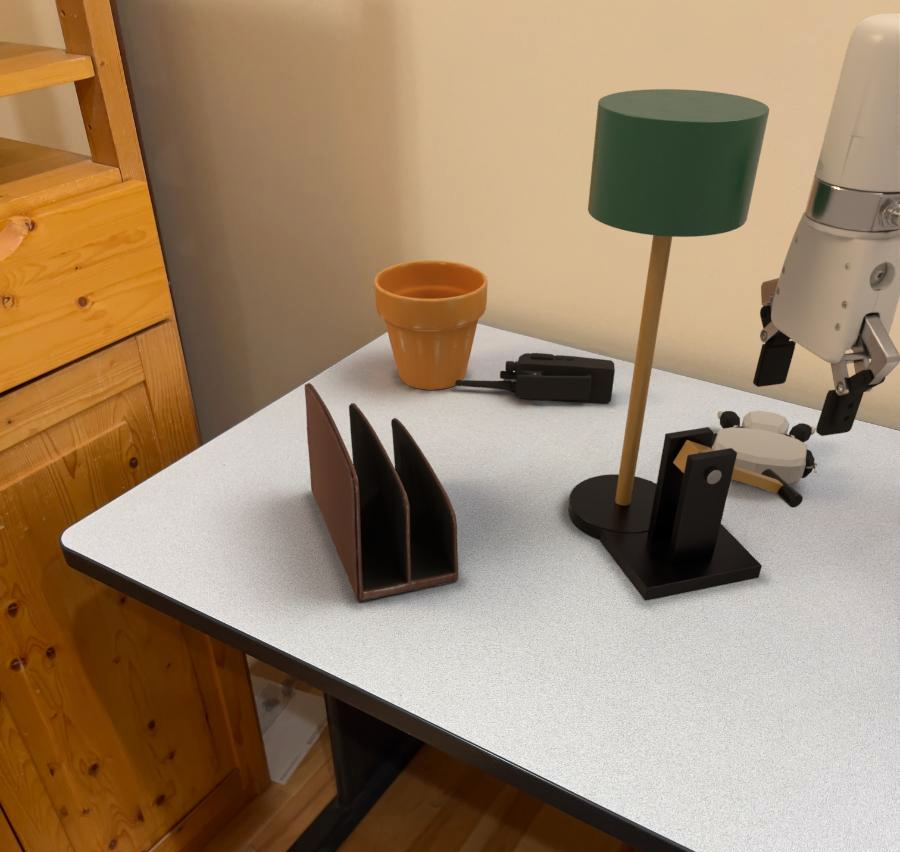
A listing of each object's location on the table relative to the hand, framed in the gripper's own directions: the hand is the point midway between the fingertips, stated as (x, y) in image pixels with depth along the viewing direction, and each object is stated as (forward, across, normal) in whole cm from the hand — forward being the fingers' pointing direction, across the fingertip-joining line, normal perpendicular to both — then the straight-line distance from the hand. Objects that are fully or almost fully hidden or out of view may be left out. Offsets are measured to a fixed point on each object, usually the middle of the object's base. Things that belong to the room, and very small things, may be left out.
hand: (799, 407), depth 79 cm
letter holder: (+16, +12, +36) cm, 41 cm away
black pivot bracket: (+15, 0, +9) cm, 18 cm away
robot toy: (+15, +14, -8) cm, 22 cm away
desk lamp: (+15, +9, +11) cm, 21 cm away
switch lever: (+7, 0, +5) cm, 9 cm away
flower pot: (+15, +46, +21) cm, 53 cm away
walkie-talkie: (+12, +34, +11) cm, 38 cm away
